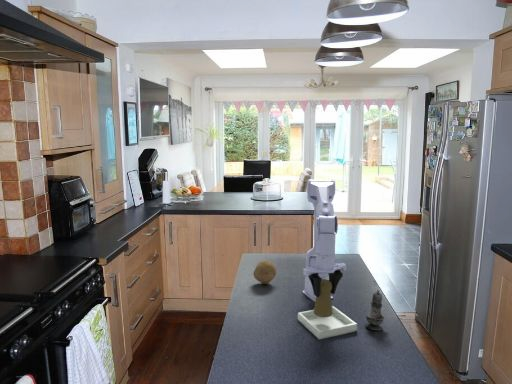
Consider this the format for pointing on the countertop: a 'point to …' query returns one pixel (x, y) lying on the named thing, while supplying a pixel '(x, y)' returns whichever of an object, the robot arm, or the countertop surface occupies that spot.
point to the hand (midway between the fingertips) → (324, 294)
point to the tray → (327, 323)
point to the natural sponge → (265, 272)
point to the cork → (324, 300)
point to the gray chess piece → (375, 313)
